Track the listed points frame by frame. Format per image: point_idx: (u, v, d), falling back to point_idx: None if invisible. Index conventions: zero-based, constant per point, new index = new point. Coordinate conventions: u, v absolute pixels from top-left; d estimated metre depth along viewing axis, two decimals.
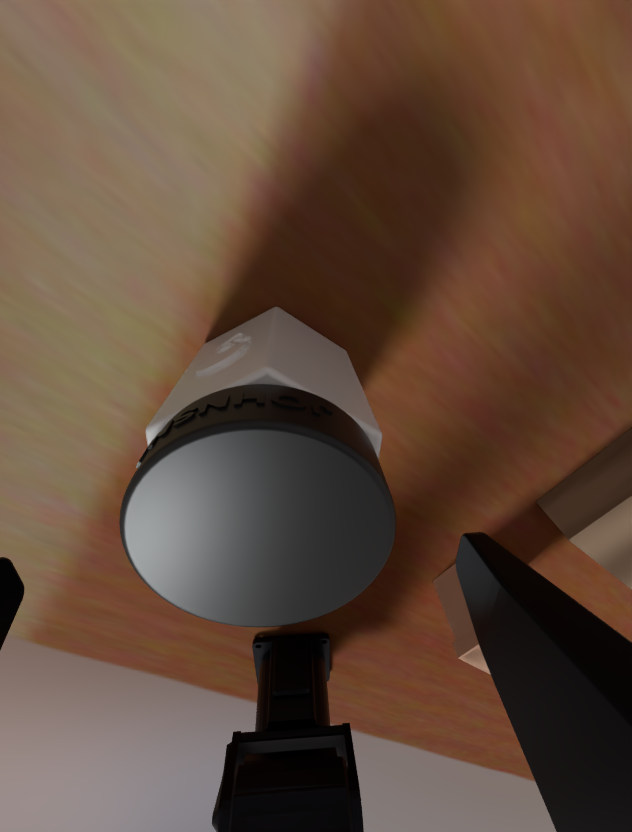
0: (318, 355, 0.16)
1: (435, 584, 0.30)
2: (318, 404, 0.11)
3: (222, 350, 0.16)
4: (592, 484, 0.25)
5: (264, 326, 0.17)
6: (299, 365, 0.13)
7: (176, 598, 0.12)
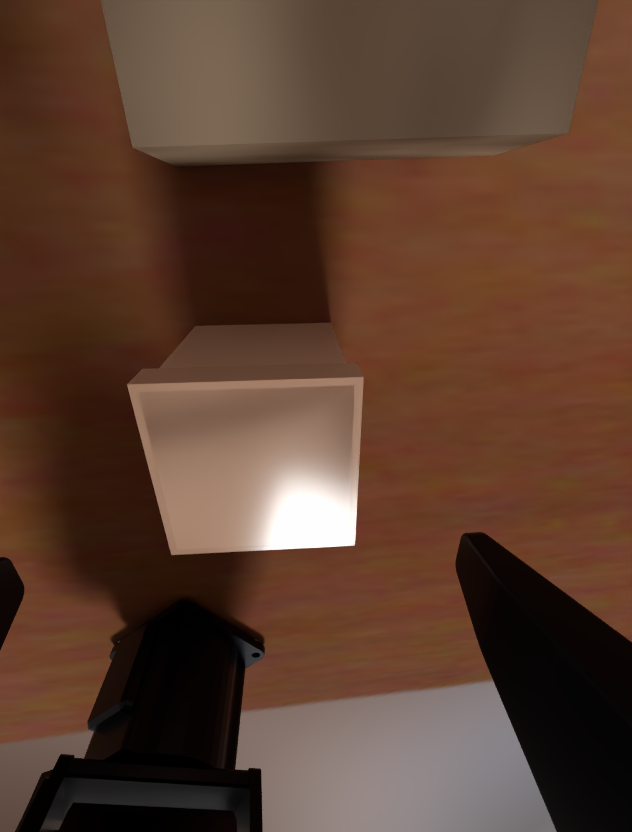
0: None
1: None
2: None
3: None
4: None
5: None
6: None
7: None
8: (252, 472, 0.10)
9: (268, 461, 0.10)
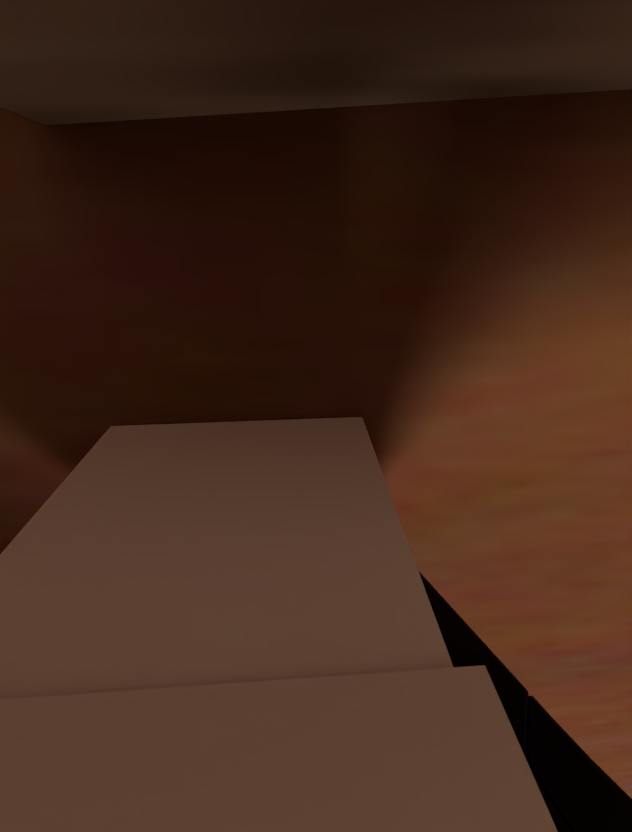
0: None
1: None
2: None
3: None
4: None
5: None
6: None
7: None
8: None
9: None
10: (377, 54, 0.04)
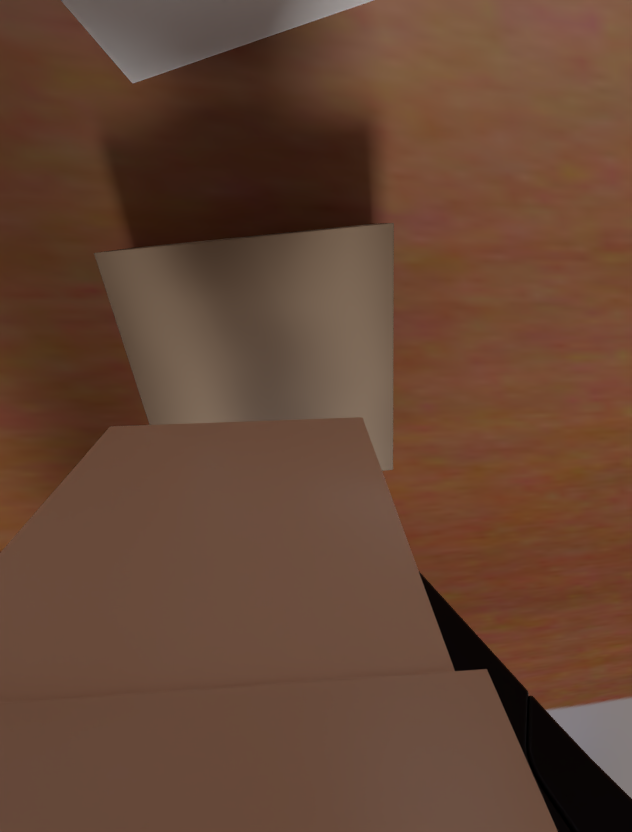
0: None
1: None
2: None
3: None
4: None
5: None
6: None
7: None
8: None
9: None
10: None
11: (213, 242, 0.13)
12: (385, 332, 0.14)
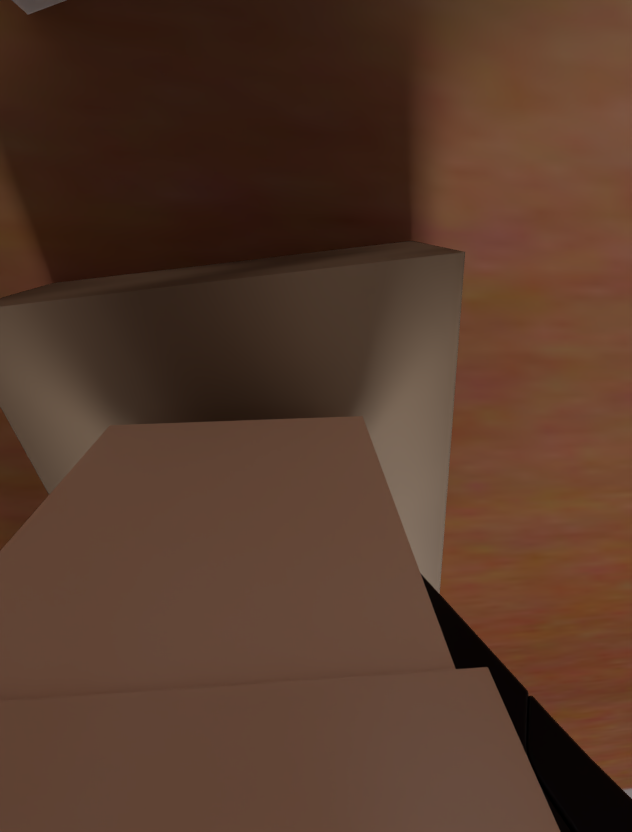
0: None
1: None
2: None
3: None
4: None
5: None
6: None
7: None
8: None
9: None
10: None
11: (153, 290, 0.07)
12: (440, 420, 0.09)
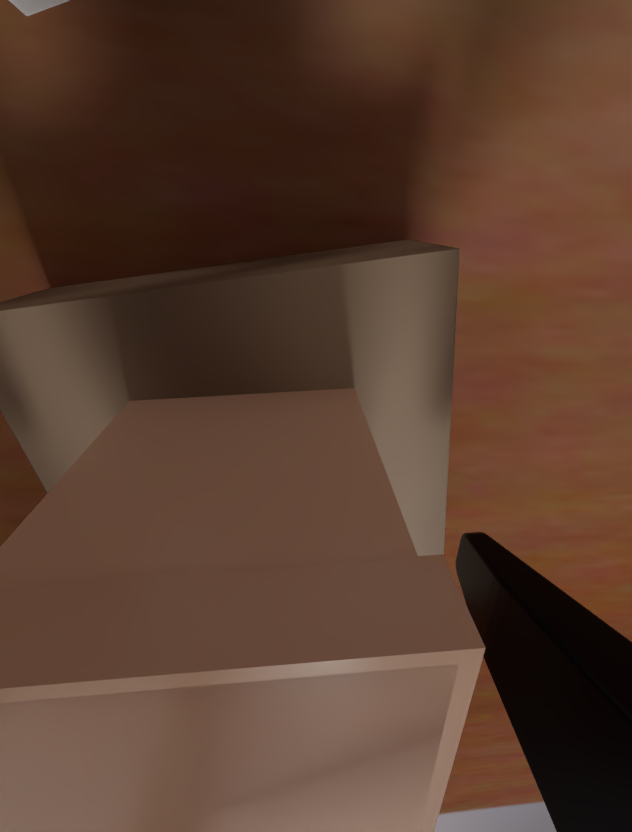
0: None
1: None
2: None
3: None
4: None
5: None
6: None
7: None
8: (201, 807, 0.04)
9: (237, 791, 0.04)
10: None
11: (150, 292, 0.07)
12: (438, 417, 0.09)
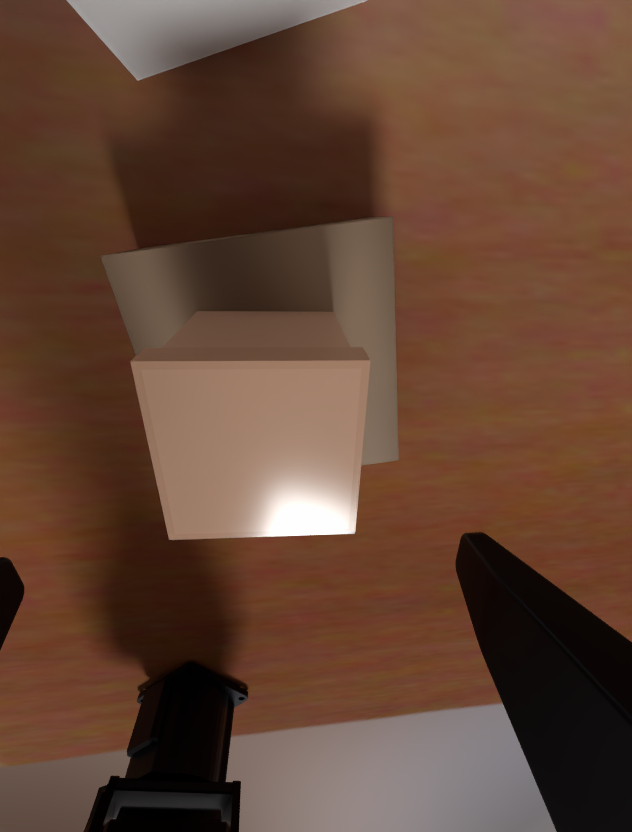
0: None
1: None
2: None
3: None
4: None
5: None
6: None
7: None
8: (254, 456, 0.10)
9: (271, 445, 0.10)
10: None
11: (216, 241, 0.13)
12: (387, 325, 0.15)
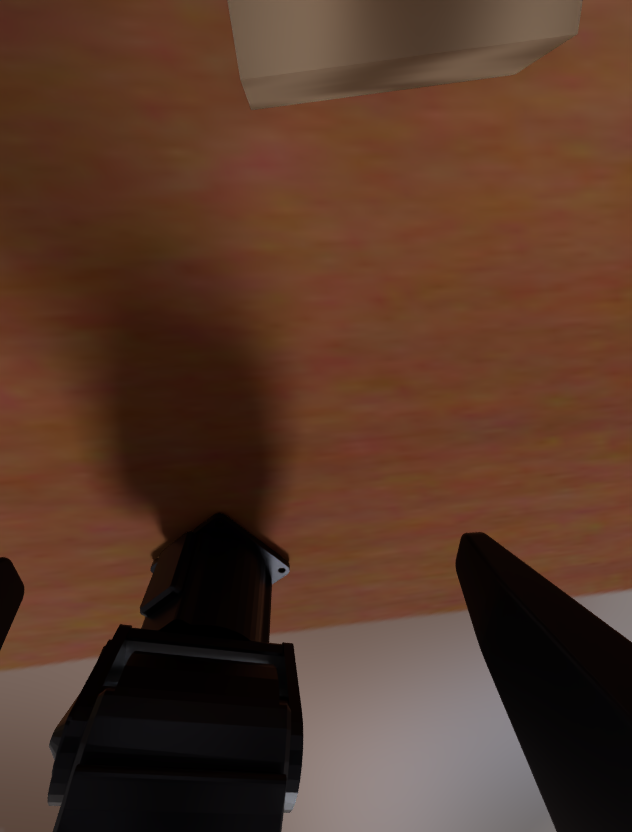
0: None
1: None
2: None
3: None
4: None
5: None
6: None
7: None
8: None
9: None
10: (373, 79, 0.13)
11: None
12: None
